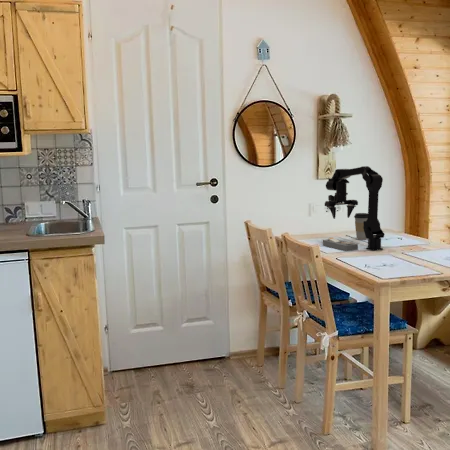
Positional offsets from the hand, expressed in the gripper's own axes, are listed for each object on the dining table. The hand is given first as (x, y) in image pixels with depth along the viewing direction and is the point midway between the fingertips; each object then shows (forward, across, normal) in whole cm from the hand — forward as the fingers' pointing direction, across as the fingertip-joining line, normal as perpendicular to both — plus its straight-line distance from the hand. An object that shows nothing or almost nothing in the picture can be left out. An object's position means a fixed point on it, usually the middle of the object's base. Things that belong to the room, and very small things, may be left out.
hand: (341, 218), depth 299 cm
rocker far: (+11, +10, +8) cm, 17 cm away
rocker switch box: (+14, +9, +13) cm, 21 cm away
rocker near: (+11, +8, +18) cm, 23 cm away
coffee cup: (+14, -17, -5) cm, 22 cm away
